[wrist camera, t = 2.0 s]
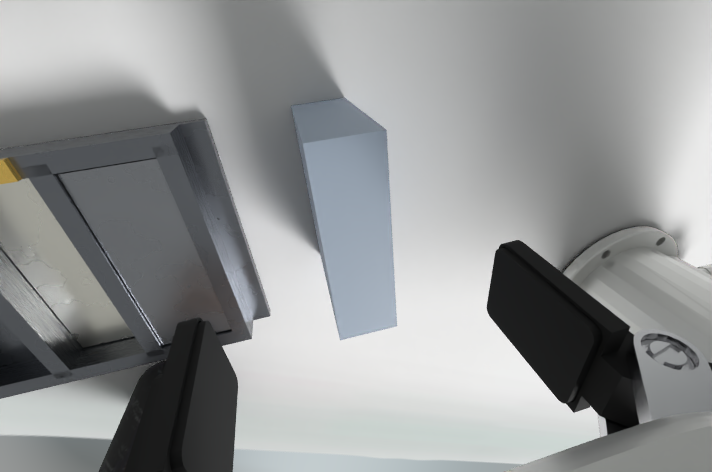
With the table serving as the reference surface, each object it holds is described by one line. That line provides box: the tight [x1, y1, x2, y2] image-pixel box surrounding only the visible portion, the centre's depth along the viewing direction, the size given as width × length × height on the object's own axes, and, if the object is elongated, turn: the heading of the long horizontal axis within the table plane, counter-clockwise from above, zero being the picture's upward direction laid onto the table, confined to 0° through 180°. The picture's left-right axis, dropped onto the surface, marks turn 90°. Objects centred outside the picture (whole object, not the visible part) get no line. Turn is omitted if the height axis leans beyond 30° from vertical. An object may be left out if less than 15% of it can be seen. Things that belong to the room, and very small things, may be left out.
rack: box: [0, 119, 270, 399], centre depth 19 cm, size 20×14×3 cm
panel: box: [291, 98, 397, 340], centre depth 17 cm, size 3×10×8 cm, turn 6°
